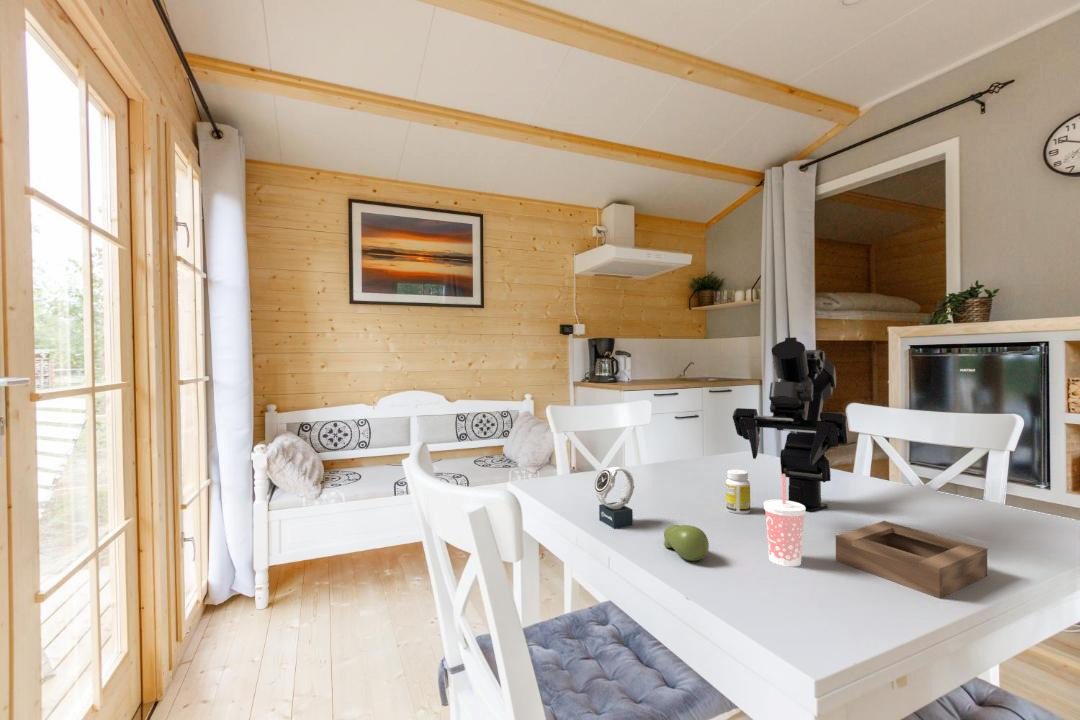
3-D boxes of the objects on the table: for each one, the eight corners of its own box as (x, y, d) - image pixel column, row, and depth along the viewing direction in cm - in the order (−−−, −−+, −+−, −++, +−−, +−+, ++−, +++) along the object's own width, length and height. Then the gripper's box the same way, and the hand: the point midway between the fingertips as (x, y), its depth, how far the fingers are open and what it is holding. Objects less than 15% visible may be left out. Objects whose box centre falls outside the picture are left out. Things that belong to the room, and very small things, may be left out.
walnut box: (884, 543, 84) (884, 520, 84) (987, 575, 72) (987, 548, 72) (835, 560, 78) (835, 535, 78) (939, 598, 65) (939, 568, 65)
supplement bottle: (750, 508, 104) (750, 470, 104) (750, 515, 100) (749, 475, 100) (727, 506, 106) (726, 468, 106) (725, 512, 102) (724, 473, 102)
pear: (682, 531, 77) (654, 521, 86) (685, 566, 76) (657, 552, 86) (713, 527, 78) (682, 518, 88) (717, 562, 77) (685, 548, 87)
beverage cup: (765, 550, 82) (764, 468, 82) (806, 557, 79) (805, 471, 79) (762, 563, 77) (761, 476, 77) (805, 571, 74) (804, 480, 74)
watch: (590, 521, 98) (590, 467, 98) (624, 515, 101) (623, 463, 101) (605, 530, 93) (604, 473, 93) (640, 524, 96) (639, 468, 96)
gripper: (735, 367, 96) (718, 425, 87) (846, 367, 85) (840, 433, 76) (745, 406, 102) (730, 465, 93) (850, 411, 91) (845, 478, 82)
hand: (781, 460), depth 86 cm, fingers open, 9 cm apart
